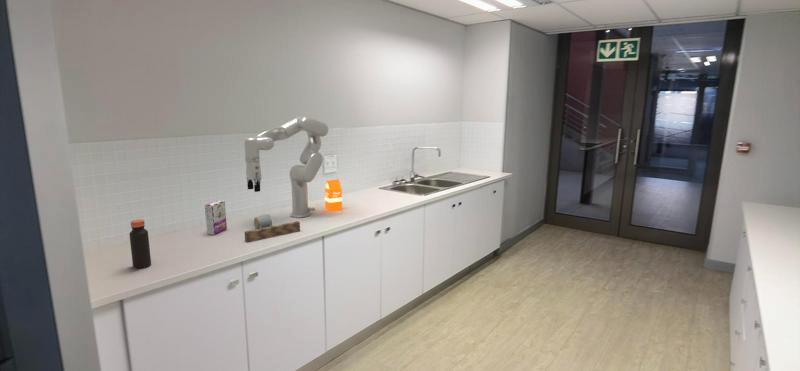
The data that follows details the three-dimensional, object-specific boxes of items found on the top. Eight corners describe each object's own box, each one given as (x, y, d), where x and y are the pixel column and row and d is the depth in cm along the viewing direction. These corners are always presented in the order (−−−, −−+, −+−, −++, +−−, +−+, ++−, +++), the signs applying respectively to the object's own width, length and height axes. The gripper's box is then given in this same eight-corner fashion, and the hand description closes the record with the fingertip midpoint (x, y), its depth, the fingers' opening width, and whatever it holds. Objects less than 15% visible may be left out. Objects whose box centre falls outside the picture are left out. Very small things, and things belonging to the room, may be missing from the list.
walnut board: (297, 229, 240) (297, 221, 239) (300, 230, 238) (299, 222, 237) (245, 241, 220) (244, 231, 219) (247, 242, 218) (246, 232, 217)
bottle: (142, 262, 189) (138, 218, 186) (155, 264, 188) (150, 219, 184) (129, 267, 183) (124, 222, 179) (141, 269, 181) (136, 223, 177)
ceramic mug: (253, 228, 242) (252, 215, 240) (267, 225, 247) (267, 212, 245) (260, 233, 234) (259, 219, 232) (275, 230, 239) (274, 217, 237)
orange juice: (342, 209, 285) (341, 180, 281) (330, 211, 280) (329, 181, 276) (336, 207, 291) (336, 178, 287) (324, 209, 286) (324, 179, 282)
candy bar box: (219, 228, 240) (217, 200, 237) (227, 229, 239) (225, 200, 236) (206, 234, 229) (204, 204, 226) (214, 235, 228) (212, 205, 225)
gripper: (265, 161, 238) (267, 191, 241) (252, 157, 250) (253, 187, 254) (252, 162, 233) (254, 193, 236) (239, 158, 245) (241, 188, 249)
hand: (253, 190), depth 245 cm, fingers open, 8 cm apart
